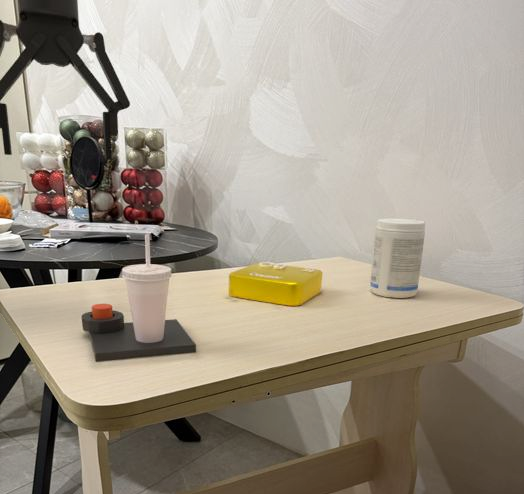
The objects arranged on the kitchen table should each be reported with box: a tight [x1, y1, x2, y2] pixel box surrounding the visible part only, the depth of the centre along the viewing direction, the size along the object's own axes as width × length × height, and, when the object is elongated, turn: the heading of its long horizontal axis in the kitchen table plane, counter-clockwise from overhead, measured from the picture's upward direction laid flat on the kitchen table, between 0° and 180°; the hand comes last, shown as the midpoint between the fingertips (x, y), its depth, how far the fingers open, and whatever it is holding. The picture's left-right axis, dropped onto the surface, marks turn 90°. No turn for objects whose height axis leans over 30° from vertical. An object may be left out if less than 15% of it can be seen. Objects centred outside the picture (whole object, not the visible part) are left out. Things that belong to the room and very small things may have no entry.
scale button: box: [91, 303, 114, 319], centre depth 74 cm, size 3×3×2 cm
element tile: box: [228, 261, 323, 307], centre depth 102 cm, size 15×15×5 cm
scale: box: [81, 309, 197, 363], centre depth 73 cm, size 14×13×3 cm
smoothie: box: [121, 233, 173, 343], centre depth 69 cm, size 6×6×14 cm
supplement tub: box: [369, 218, 426, 299], centre depth 105 cm, size 10×10×15 cm
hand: (59, 157), depth 76 cm, fingers open, 13 cm apart
